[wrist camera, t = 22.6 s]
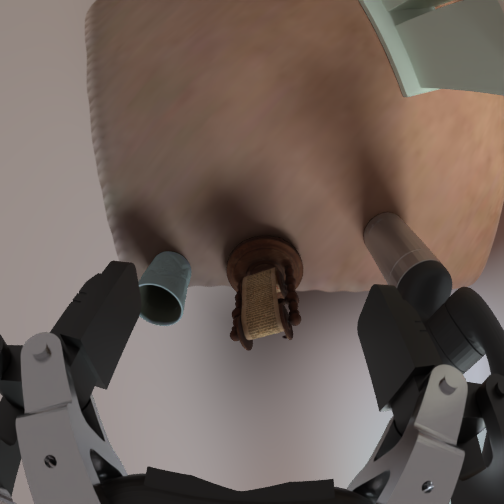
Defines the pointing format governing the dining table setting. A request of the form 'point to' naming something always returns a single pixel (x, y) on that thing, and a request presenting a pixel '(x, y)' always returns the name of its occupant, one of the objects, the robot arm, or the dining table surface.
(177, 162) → the dining table surface
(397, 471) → the robot arm
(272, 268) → the scroll
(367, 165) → the dining table surface
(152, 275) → the drinking glass
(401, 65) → the step stand
